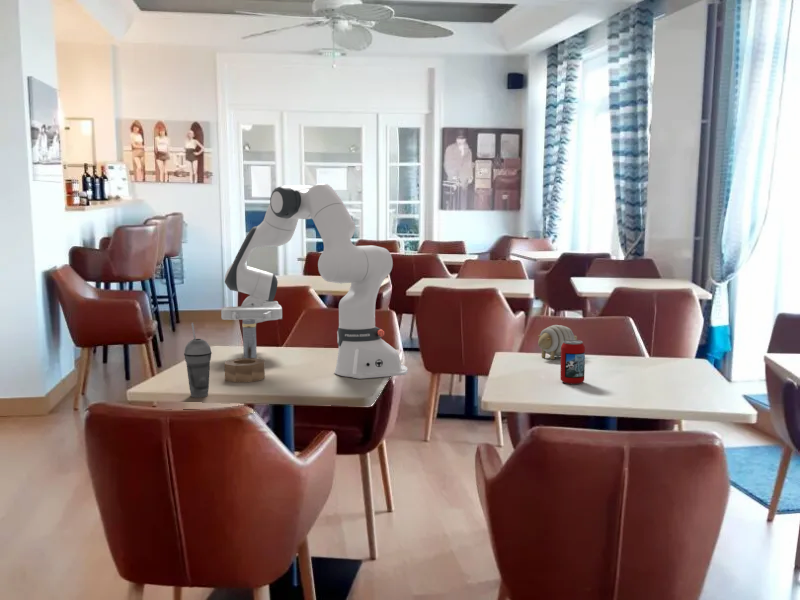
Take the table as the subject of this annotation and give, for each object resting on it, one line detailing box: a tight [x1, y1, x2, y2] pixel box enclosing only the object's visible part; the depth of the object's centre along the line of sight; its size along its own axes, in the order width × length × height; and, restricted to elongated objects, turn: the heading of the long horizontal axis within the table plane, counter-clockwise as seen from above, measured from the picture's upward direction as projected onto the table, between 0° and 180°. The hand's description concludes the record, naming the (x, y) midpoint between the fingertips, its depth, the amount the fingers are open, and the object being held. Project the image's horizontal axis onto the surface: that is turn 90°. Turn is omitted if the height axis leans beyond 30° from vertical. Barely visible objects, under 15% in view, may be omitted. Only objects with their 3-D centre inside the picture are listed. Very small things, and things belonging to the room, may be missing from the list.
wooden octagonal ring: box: [224, 357, 266, 383], centre depth 228 cm, size 12×12×5 cm
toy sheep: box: [537, 324, 578, 361], centre depth 257 cm, size 11×17×11 cm, turn 127°
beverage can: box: [560, 339, 586, 385], centre depth 219 cm, size 7×7×12 cm
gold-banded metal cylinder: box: [241, 319, 258, 358], centre depth 238 cm, size 4×4×16 cm
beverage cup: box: [183, 322, 213, 398], centre depth 206 cm, size 7×7×20 cm
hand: (250, 316), depth 251 cm, fingers open, 8 cm apart
